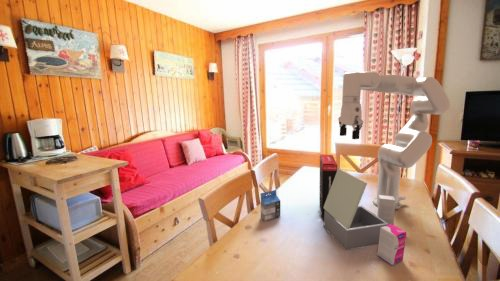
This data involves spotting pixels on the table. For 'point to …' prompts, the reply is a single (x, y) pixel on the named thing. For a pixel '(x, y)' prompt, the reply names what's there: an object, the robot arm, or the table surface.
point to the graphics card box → (326, 178)
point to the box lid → (344, 197)
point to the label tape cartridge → (270, 205)
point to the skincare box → (386, 208)
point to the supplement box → (391, 244)
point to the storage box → (356, 229)
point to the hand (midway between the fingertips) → (349, 137)
